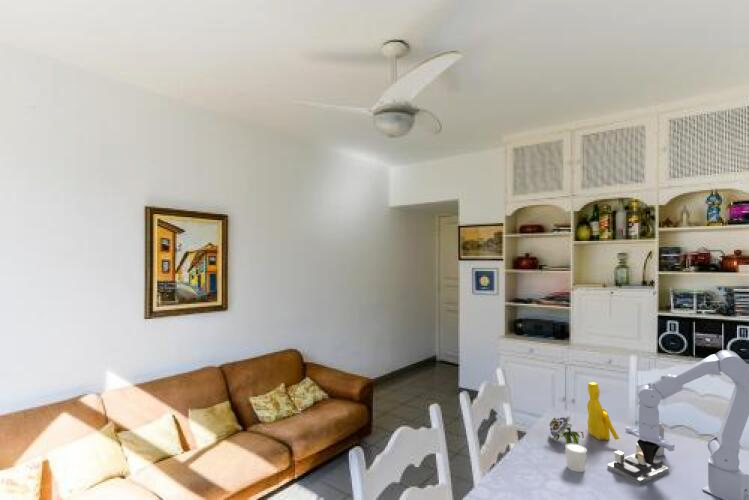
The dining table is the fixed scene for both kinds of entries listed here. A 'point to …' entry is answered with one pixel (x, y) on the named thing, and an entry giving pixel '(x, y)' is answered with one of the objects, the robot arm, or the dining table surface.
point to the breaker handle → (641, 458)
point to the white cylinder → (576, 457)
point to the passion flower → (563, 430)
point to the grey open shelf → (637, 467)
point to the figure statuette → (598, 416)
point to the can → (661, 434)
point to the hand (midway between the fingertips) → (649, 462)
